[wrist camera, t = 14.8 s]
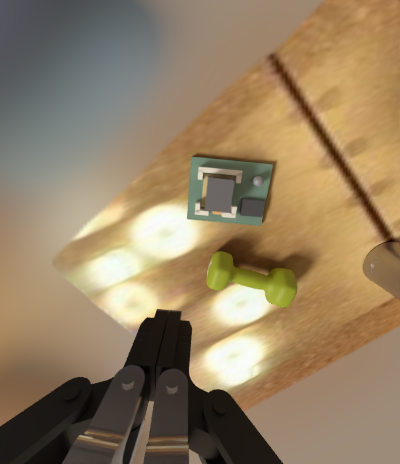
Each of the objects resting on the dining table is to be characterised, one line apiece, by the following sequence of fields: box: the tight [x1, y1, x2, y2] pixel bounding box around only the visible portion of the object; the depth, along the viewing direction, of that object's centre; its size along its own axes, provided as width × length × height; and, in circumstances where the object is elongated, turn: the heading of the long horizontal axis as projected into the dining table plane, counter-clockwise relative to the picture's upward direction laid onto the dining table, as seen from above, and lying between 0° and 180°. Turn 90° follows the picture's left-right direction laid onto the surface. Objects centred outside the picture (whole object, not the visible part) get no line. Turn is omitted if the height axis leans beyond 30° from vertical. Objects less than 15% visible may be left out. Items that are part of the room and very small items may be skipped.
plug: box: [205, 176, 235, 215], centre depth 33 cm, size 4×6×5 cm
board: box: [187, 157, 273, 226], centre depth 35 cm, size 14×11×3 cm
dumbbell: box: [207, 251, 297, 307], centre depth 38 cm, size 16×8×7 cm, turn 73°
